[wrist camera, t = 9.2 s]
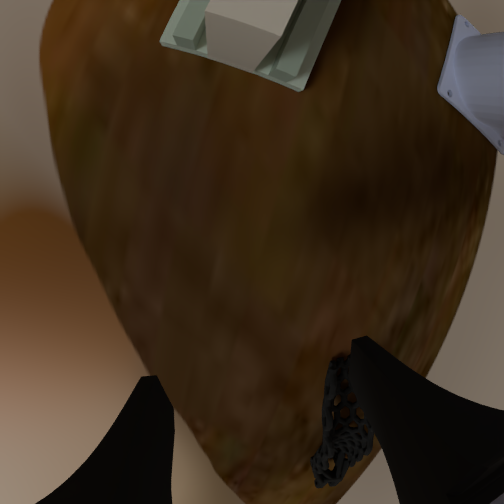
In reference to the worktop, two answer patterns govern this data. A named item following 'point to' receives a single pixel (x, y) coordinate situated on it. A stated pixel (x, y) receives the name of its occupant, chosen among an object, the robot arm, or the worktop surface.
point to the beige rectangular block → (245, 29)
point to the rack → (281, 54)
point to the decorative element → (339, 430)
